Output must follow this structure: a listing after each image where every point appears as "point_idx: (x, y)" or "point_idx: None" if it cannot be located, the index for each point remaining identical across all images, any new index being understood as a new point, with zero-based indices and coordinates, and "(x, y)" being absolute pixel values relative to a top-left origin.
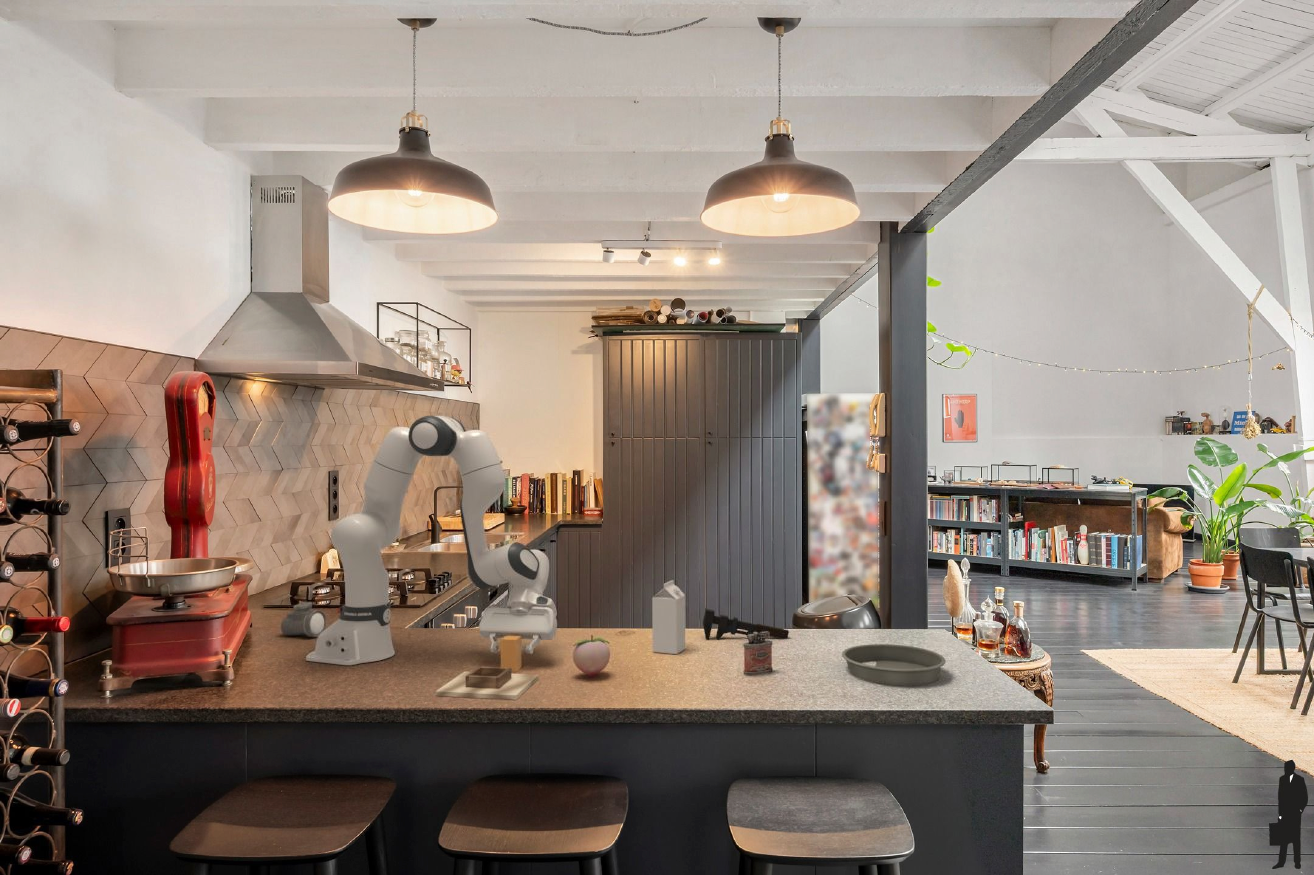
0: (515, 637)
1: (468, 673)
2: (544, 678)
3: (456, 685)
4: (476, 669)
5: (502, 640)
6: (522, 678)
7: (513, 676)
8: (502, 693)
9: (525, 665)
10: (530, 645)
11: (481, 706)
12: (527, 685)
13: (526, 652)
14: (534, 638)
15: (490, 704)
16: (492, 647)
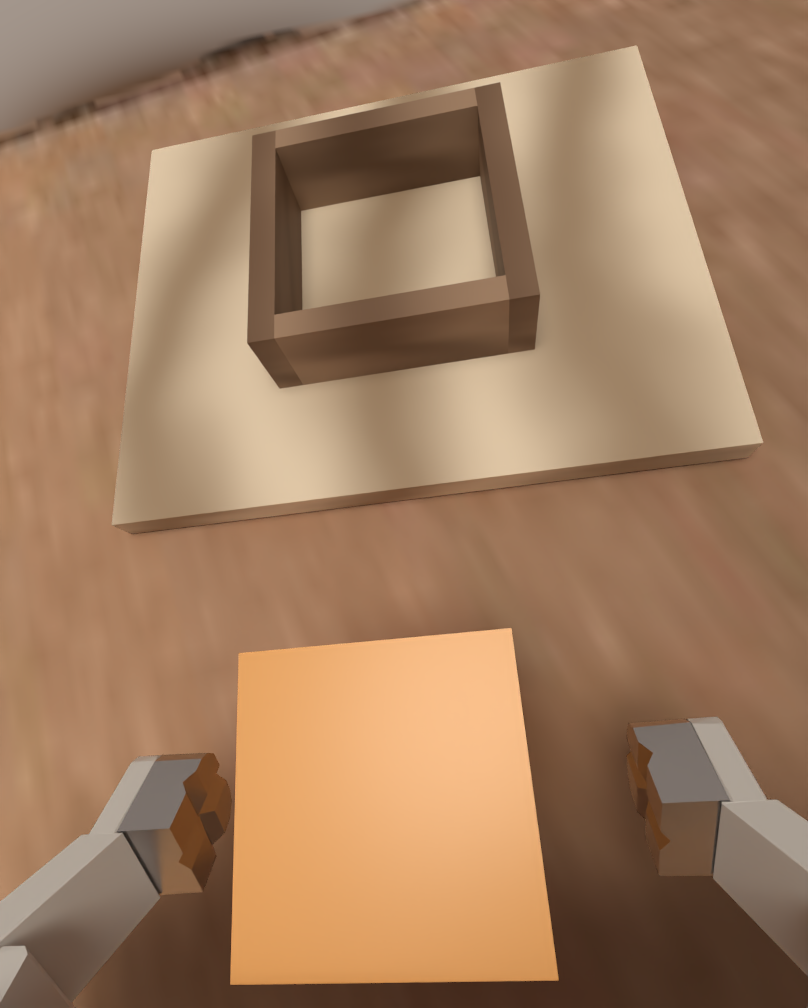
0: (305, 830)
1: (683, 401)
2: (94, 557)
3: (580, 158)
4: (513, 221)
5: (481, 634)
6: (202, 408)
7: (281, 432)
8: (231, 145)
9: None
10: (118, 815)
11: (299, 58)
12: (137, 309)
13: (217, 778)
14: (1, 941)
15: (268, 89)
16: (696, 731)
